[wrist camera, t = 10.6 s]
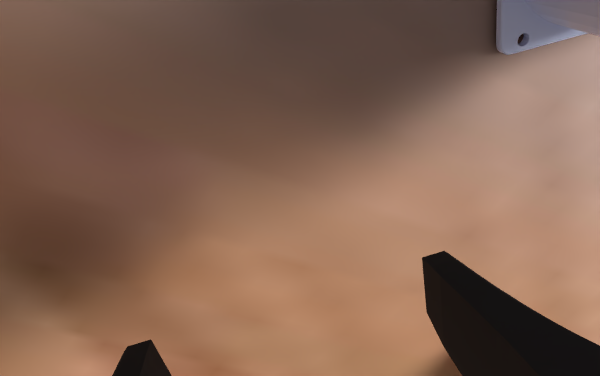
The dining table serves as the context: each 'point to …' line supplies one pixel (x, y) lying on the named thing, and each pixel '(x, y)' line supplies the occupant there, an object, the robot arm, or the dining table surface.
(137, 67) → the dining table surface
